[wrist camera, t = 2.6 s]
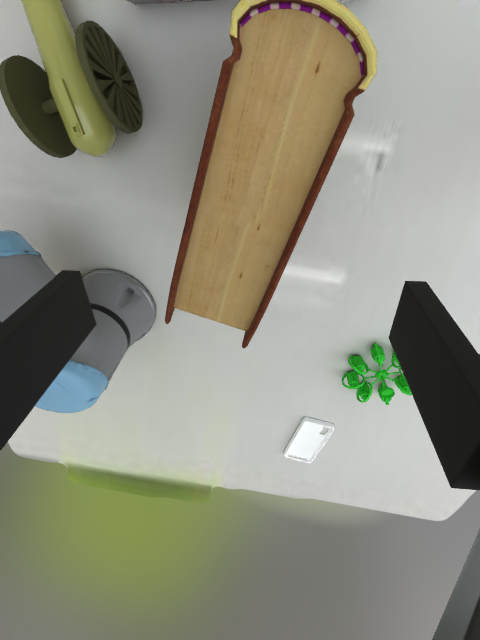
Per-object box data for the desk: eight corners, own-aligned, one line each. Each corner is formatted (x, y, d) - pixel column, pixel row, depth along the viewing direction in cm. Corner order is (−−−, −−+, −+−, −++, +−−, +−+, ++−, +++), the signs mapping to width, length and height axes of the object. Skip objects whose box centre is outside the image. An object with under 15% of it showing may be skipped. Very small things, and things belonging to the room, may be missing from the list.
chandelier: (371, 325, 62) (380, 350, 57) (437, 357, 65) (452, 383, 59) (325, 377, 70) (329, 402, 65) (385, 403, 73) (394, 430, 67)
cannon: (-33, -79, 37) (-136, -131, 28) (56, -133, 35) (-26, -211, 25) (86, 160, 51) (43, 177, 41) (158, 135, 48) (128, 148, 38)
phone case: (304, 416, 78) (283, 452, 87) (304, 420, 77) (283, 457, 86) (334, 423, 78) (310, 459, 87) (335, 428, 77) (311, 464, 86)
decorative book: (267, 32, 40) (243, -44, 16) (329, 58, 41) (399, 24, 17) (216, 211, 53) (159, 323, 29) (264, 229, 54) (249, 351, 29)
